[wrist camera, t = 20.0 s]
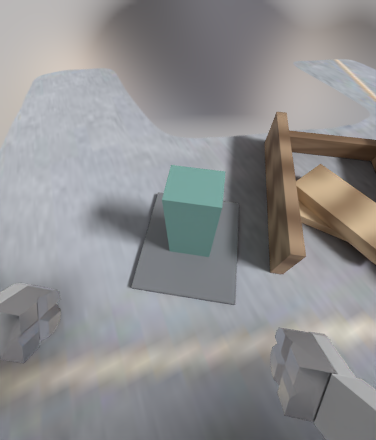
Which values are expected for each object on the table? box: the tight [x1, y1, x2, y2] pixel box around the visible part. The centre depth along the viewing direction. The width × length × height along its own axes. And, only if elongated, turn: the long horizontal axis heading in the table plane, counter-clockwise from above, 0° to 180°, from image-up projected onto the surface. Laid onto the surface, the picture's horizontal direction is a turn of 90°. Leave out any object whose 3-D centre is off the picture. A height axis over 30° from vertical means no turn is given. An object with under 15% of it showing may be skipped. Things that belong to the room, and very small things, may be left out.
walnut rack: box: [265, 112, 376, 274], centre depth 30 cm, size 24×20×6 cm
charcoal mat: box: [131, 193, 239, 305], centre depth 28 cm, size 12×14×1 cm
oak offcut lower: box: [299, 202, 346, 241], centre depth 31 cm, size 14×6×2 cm, turn 62°
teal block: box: [162, 165, 225, 257], centre depth 23 cm, size 5×4×11 cm
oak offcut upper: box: [296, 164, 376, 265], centre depth 29 cm, size 14×6×2 cm, turn 36°
